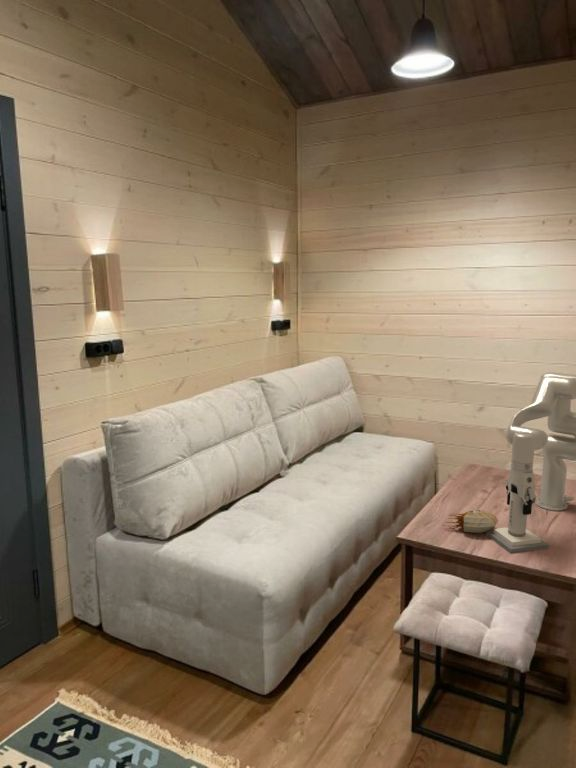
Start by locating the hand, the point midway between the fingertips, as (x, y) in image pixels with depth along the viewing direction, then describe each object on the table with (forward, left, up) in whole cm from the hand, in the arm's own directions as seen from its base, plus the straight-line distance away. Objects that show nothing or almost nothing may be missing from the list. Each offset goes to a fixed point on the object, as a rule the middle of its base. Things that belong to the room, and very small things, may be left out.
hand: (518, 509), depth 219 cm
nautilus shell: (+12, -14, -13) cm, 22 cm away
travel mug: (0, 0, -10) cm, 10 cm away
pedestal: (0, 0, -13) cm, 13 cm away
